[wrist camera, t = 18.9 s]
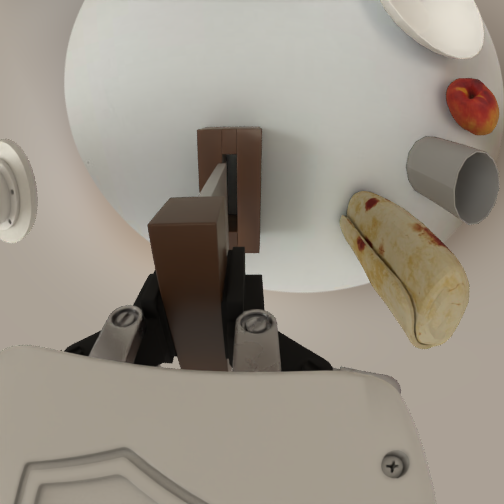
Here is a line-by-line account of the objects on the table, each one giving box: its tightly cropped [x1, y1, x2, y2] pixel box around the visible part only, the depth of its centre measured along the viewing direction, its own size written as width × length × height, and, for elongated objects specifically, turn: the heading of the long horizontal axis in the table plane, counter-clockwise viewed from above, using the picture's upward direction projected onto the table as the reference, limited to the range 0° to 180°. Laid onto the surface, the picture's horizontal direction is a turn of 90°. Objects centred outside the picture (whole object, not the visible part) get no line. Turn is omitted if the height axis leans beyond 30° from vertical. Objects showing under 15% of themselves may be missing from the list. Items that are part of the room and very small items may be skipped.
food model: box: [340, 191, 469, 349], centre depth 24 cm, size 10×7×20 cm
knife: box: [148, 163, 232, 372], centre depth 14 cm, size 2×8×12 cm, turn 179°
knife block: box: [197, 127, 262, 253], centre depth 28 cm, size 6×13×5 cm, turn 179°
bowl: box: [380, 0, 484, 59], centre depth 15 cm, size 16×16×7 cm
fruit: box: [446, 78, 499, 135], centre depth 21 cm, size 8×8×8 cm
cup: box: [406, 136, 499, 225], centre depth 25 cm, size 8×8×10 cm
